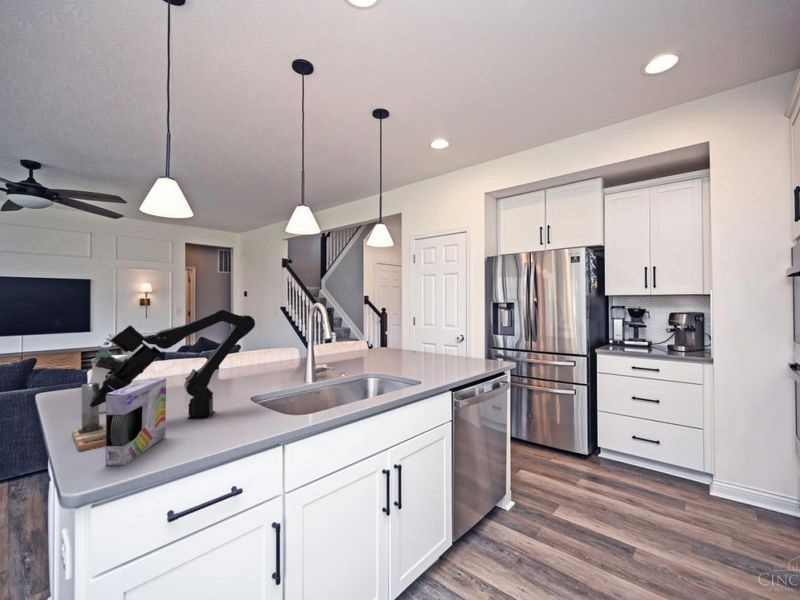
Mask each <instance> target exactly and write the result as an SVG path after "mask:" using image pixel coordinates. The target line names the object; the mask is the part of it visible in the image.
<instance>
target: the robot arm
mask: <svg viewBox="0 0 800 600" xmlns="http://www.w3.org/2000/svg"><path fill="white" fill-rule="evenodd" d="M221 322H224V323H227V324H230V325H231V326H230V330H229V332H228V334H227V335H226V337H224V339H223V341H222V342H221V343H219V345H218V347H217V348H216V349H215V351H214V352H212V354H211V355H210V357H209V358H208V359H207V360H206V361H205V362H204V364H203V365H202V366H201V367H200V368H199V369H198V370H196V369H195V368H193V369H192V370H191V371H190V374H188V375H187V376H186V377H185V378H184V379H185V382H184V389H185V391H186V393H187V394H188V395H189V396H192V397H191V398H190V399H189V403H188V416H187V419H189V420H190V419H208V418H209V417H211V416H213V415H214V414H215V413H216V411H215V410H214V396H213V395H214V393H213V391H211V389H210V388H209V387H208V386H209V384H210V382H211V379H212V376H213V375H214V373H215V372H216V370H217V369H218V367H219V366H220V365H221V364H222V363H223V361H224V360H225V358H226V357H227V356H228V355H229V354H230V352H231V351H232V350H233V348H234V347H236V345H237V343H238V342H239V341H240V340H241V339H242V338H243V339H244V337H245V336H247V335H248V334H249V333H250V332H251V331H252V330H253V329H254V328H255V327H256V321H255V319H254V317H253V316H250V315H244V314H243V315H239V314H236V313H233V312H230V311H226V310H224V309H217V310H216V311H214V312H212V313H209V314H207V315H205V316H202V317H200V318H198V319H197V318H196V319H195V320H193V321H190V322H188V323H185V324H183V325H179V326H175V327H171V328H166V329H162V330H159V331H157V332H156V333H155V334H151V335H148V334H147V335H143V334H142V333H140V332H139V331H137V330H136V329H135V327H133V326H132V325H128V326H126V328H124V329H122V331H119V333H117V334H115V336H113V337H112V338H111V339H110V341H109V342H111V343H112V344H113V345H115V346H116V347H117V348H119V349H120V350H122V351H123V352H124V353H127V352H131V353H133V354H131V356H130V357H129V356H128V358H126V359H125V360H123V361H121V360H118V359H115V358H114V357H111V356H105V355H101V357H100V358H99V360H98V362H97V363H96V365H95V366H96V367H99V368H105V369H109V370H110V371H109V372H108V373H107V374H108V375H107V374H106V379H105V380H104V381H103V386H102V387H101V388H100V390H99V394H98V395H97V397H96V398H95V399H94V400H93V401H92V403H91V404H90V406H91V407H95V406H97V405H100V404H102V403H104V402H106V395H107V393H110V392H113V391H116V390H119V389H121V388H124V387H126V386H128V385H131V384H133V381H134V380H135V379H136V378H137V377H138V376H139V375H142V374H143V373H144V371H145V370H146V369H147V368H148V367H149V366H150V365H151V364H152V363H154V362H155V361H156V360H157V359H158V358H159V359H160V360H162V361H166V353H167V352H166V351H164V350H166V349H170V348H171V347H173V346H175V345H176V344H178V343H180V342H181V341H183V340H184V339H185V338H187V337H188V336H191V335H193V334H195V333H197V332H199V331H202V330H205V329H206V328H209V327H212V326H213V325H216V324H218V323H221ZM143 341H144V342H143ZM147 344H148V345H147ZM149 345H153V346H151V347H150V346H149ZM154 345H155V346H154ZM140 346H141V347H140ZM139 347H140V348H139ZM158 348H159V349H158ZM160 349H163V351H161V350H160ZM109 374H111V375H110V376H109Z"/></svg>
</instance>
